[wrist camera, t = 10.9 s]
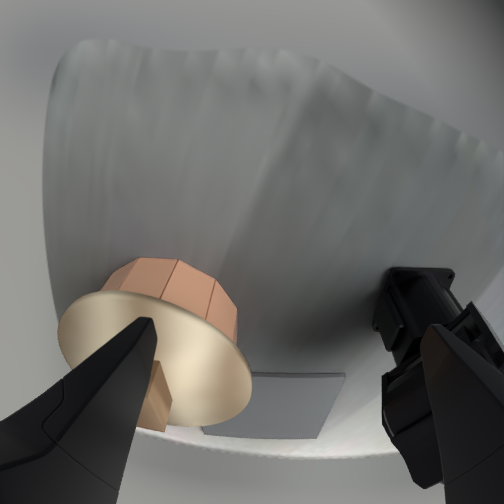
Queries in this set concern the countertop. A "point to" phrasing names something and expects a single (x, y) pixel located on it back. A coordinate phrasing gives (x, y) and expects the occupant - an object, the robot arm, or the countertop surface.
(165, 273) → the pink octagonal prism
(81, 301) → the lid
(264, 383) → the mat
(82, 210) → the countertop surface
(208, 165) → the countertop surface
